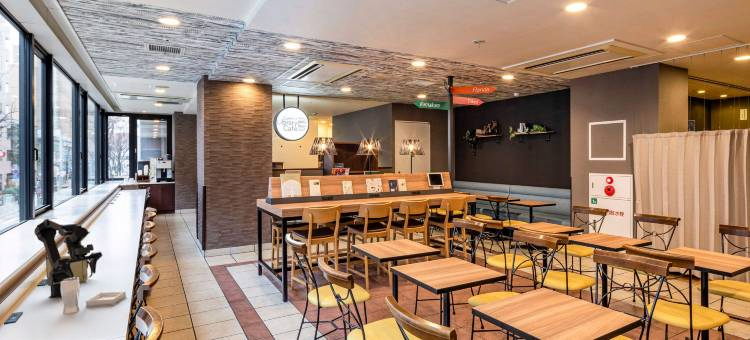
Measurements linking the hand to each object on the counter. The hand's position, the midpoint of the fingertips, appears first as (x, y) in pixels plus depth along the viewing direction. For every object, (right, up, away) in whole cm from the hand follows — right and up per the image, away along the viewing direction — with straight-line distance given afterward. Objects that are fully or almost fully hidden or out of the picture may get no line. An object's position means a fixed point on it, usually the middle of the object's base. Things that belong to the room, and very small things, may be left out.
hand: (84, 275), depth 196 cm
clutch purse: (-38, -14, +41) cm, 58 cm away
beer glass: (+2, -14, -10) cm, 18 cm away
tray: (+9, -13, +2) cm, 16 cm away
